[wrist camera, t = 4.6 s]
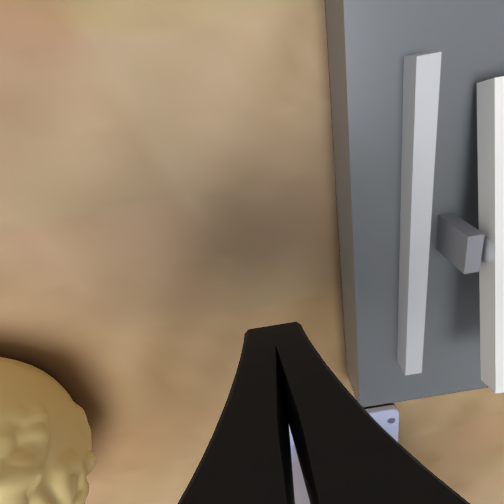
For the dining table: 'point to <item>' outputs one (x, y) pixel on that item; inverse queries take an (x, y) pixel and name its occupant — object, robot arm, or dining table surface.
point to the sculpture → (41, 439)
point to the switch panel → (410, 188)
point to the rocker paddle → (491, 229)
